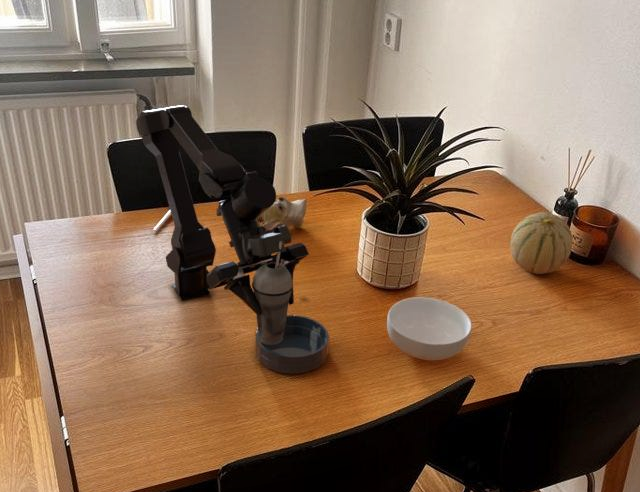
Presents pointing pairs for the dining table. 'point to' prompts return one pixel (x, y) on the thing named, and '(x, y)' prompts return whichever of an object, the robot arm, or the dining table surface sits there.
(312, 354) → the dark gray pet bowl
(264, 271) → the beverage cup
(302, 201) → the ceramic sculpture
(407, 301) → the cereal bowl
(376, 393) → the dining table surface
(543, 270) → the cantaloupe
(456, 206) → the dining table surface
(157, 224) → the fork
